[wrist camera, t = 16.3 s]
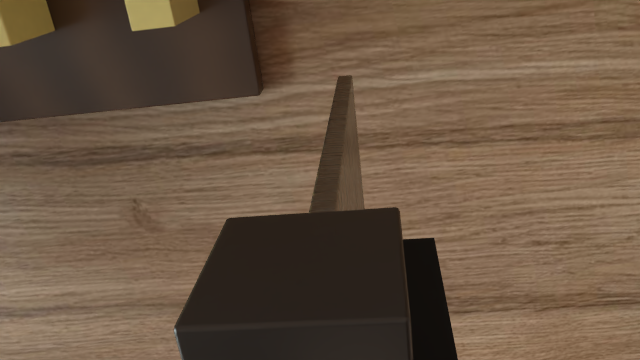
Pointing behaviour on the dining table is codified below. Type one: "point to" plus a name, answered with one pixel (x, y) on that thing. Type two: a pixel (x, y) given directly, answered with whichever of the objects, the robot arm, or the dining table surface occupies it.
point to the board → (128, 61)
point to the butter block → (23, 20)
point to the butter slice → (159, 13)
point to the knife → (307, 273)
